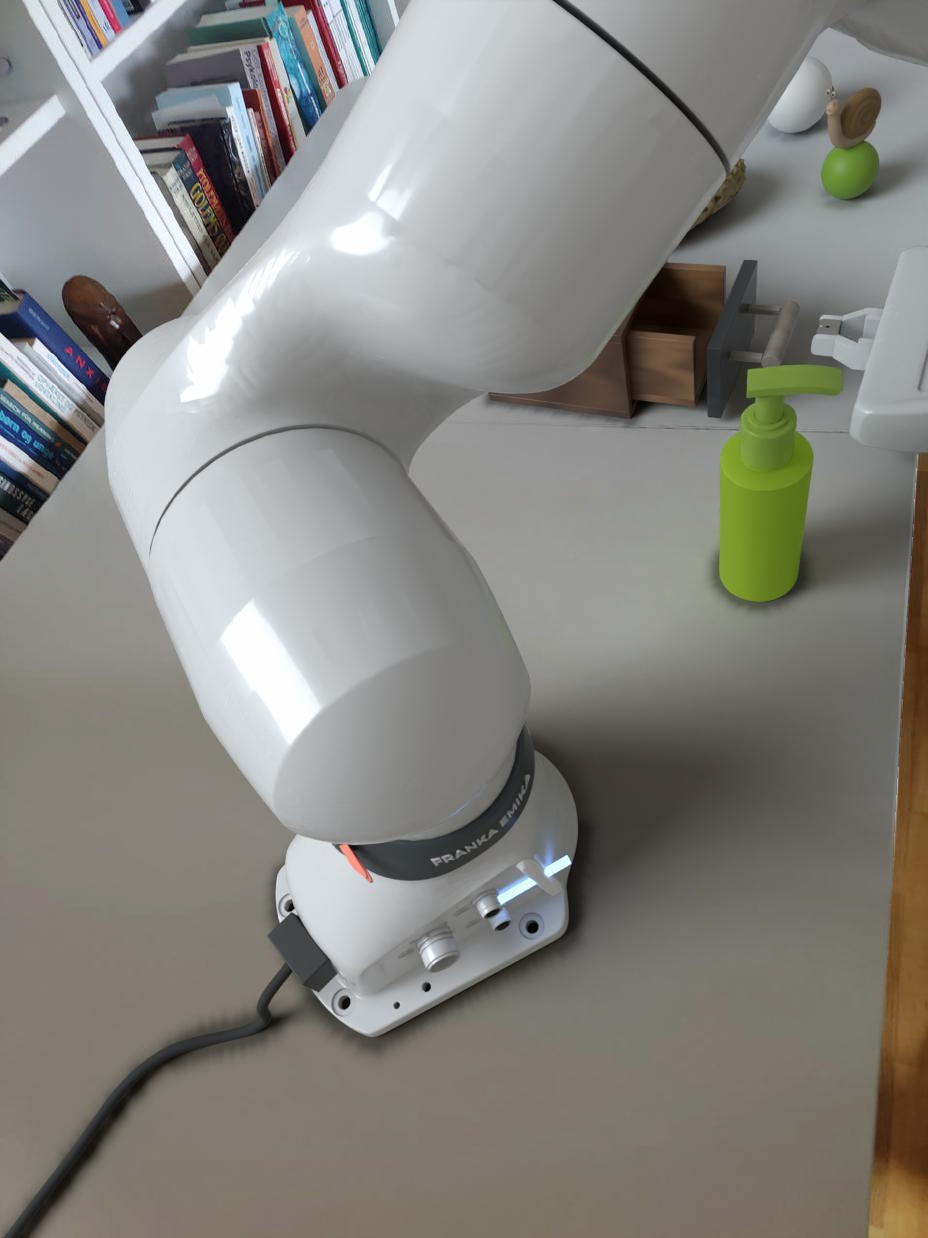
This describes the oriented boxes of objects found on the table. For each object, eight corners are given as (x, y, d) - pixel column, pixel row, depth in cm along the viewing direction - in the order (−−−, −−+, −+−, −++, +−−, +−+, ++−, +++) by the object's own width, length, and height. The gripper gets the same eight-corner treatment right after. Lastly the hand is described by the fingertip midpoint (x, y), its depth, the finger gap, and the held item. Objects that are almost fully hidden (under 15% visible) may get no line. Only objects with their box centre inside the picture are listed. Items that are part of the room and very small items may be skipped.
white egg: (834, 139, 95) (841, 69, 89) (763, 151, 97) (766, 84, 91) (823, 93, 100) (830, 24, 94) (756, 105, 102) (759, 38, 96)
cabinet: (671, 328, 84) (666, 241, 77) (630, 419, 79) (621, 335, 71) (536, 316, 90) (519, 234, 83) (489, 399, 85) (467, 321, 77)
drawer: (802, 336, 78) (809, 262, 72) (770, 425, 74) (776, 354, 67) (617, 320, 86) (609, 251, 79) (577, 400, 81) (566, 334, 75)
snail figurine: (799, 200, 90) (809, 82, 81) (849, 172, 91) (865, 51, 81) (835, 221, 87) (850, 100, 78) (886, 192, 88) (908, 68, 78)
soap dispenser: (812, 603, 64) (845, 409, 48) (717, 600, 66) (718, 413, 50) (812, 541, 67) (842, 338, 51) (720, 541, 69) (722, 345, 53)
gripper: (1034, 229, 67) (847, 222, 73) (997, 413, 58) (788, 389, 64) (1011, 297, 72) (838, 285, 78) (974, 475, 63) (782, 448, 69)
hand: (815, 334), depth 71 cm, fingers closed
